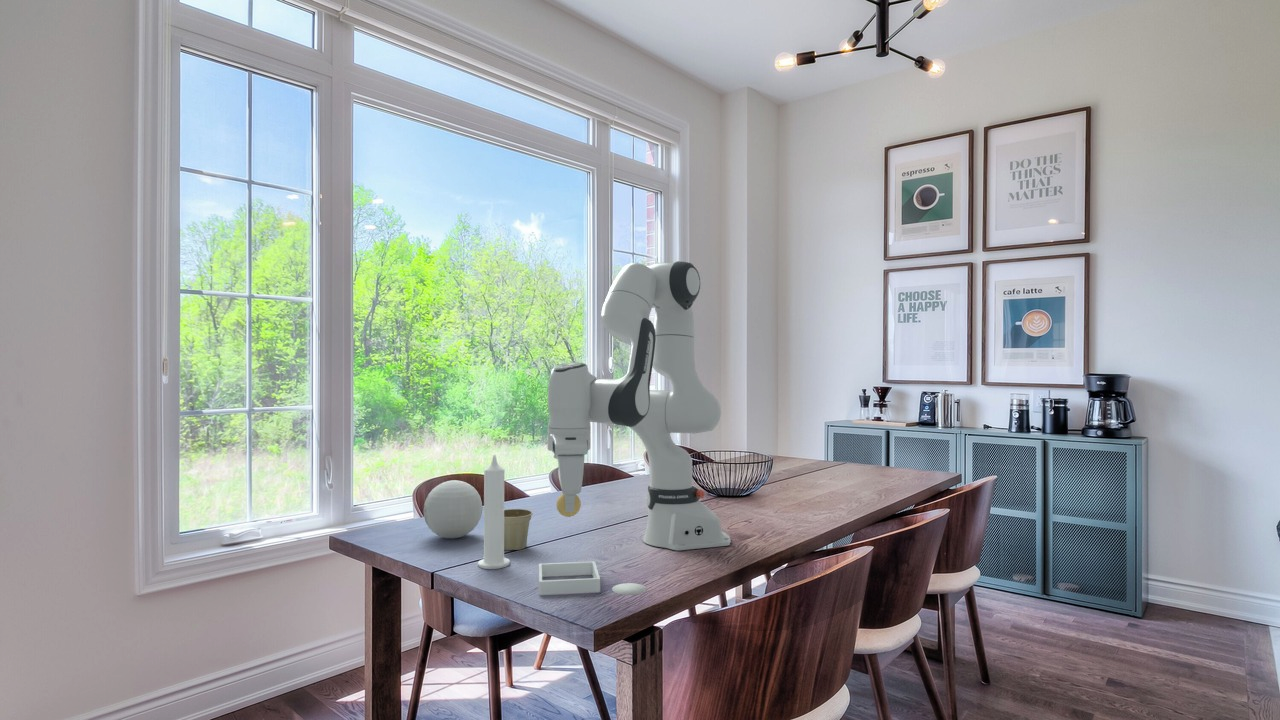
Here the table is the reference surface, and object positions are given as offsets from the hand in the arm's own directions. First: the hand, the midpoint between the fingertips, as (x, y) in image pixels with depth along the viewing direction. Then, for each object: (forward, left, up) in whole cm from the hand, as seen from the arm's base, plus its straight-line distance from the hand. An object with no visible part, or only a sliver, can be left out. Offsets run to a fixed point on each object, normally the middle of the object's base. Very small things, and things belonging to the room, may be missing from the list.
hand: (568, 508), depth 138 cm
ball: (0, 0, -2) cm, 2 cm away
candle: (+16, -17, -16) cm, 28 cm away
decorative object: (+28, -43, -16) cm, 54 cm away
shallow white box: (0, 0, -16) cm, 16 cm away
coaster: (-12, +5, -16) cm, 21 cm away
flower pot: (+12, -31, -16) cm, 37 cm away
